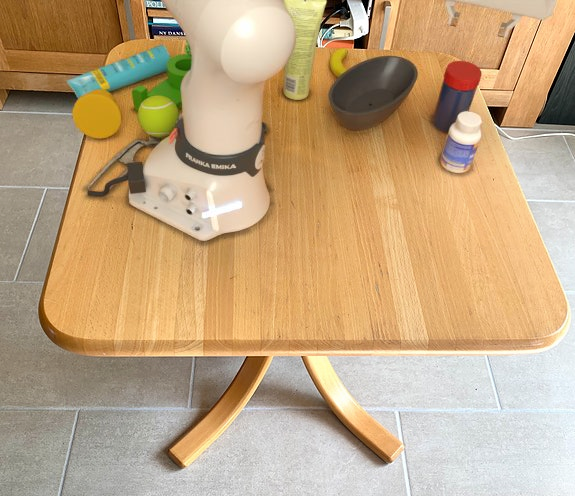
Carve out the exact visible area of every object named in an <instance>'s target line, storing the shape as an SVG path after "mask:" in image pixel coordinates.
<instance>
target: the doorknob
mask: <svg viewBox="0 0 575 496" xmlns="http://www.w3.org/2000/svg"><path fill="white" fill-rule="evenodd" d="M71 114H72V120H73V123H74V125H75V127H76V128H77V129H78V130H79V131H80V132H81V133H82V134H84V135H85V136H86V137H89V138H93V139H98V140H99V139H107V138H109V137H111V136H113V135H115V134H116V133H117V132H118V131H119V129H120V127H121V124H122V120H123V115H122V110H121V108H120V105H119V104H118V102H117V100H116V98H115V96H114V95H113V94H112V93H111V92H108V91H106V90H102V89H96V90H93V91H91V92H89V93H87V94H85V95H83V96H81V97H80V98H79V99H78V98H77V100H76V101H75V103H74V105H73V108H72V113H71Z"/></svg>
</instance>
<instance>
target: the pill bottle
mask: <svg viewBox="0 0 575 496" xmlns="http://www.w3.org/2000/svg"><path fill="white" fill-rule="evenodd" d="M482 122H483V118H482V117H481V116H480V115H479V114H477V112H474V111H470V110H469V111H465V112H461V113H460V114H459V115H458V117H457V119H456V122H455V123H453V124H452V125H451V127H450V129H449V132H447V136H446V138H445V139H446V140H445V143H444V145H443V149H442V152H441V156H440V164H441V166H442V168H444V169H445V170H447V171H449V172H451V173H455V174H462V173H465V172H467V171H469V170H470V169H471V166H472V164H473V161H474V158H475V156H476V153H477V151H478V147H479V145H480V142H481V140H482V130H481V126H482Z"/></svg>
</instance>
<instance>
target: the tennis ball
mask: <svg viewBox="0 0 575 496" xmlns="http://www.w3.org/2000/svg"><path fill="white" fill-rule="evenodd" d="M179 114H180V111H179V110H178V108H177V106H176V105H175V103H174V102H173V101H172V100H170V99H169V98H167V97H164V96H159V95H156V96H151V97H149V98H147V99H145V100H144V101H143V102H142V103H141V105H140V107H139V110H138V111H137V122H138V125H139V126H140V128H141V129H142V130H143V131H144V133H146V134H147V135H149V136H150V135H151V137H153V138H166V137H168V136H170V134H171V133H172V131H173V130H174V129H175V128H174V126H175V124H176V121H178V118H179Z"/></svg>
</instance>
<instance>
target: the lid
mask: <svg viewBox="0 0 575 496" xmlns="http://www.w3.org/2000/svg"><path fill="white" fill-rule="evenodd" d="M481 78H482V70H481V68H480V67H479V66H477V64H474V63H473V62H469V61H465V60H455V61H451V62H449V63H447V65H446V67H445V71H444V74H443V79H444V81H445V83H446V84H447V85H448V86H450V87H452V88H454V89H457V90H461V91H470V90H473V89H475V88H476V87H477V88H478V86H479V84H480V82H481Z"/></svg>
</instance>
